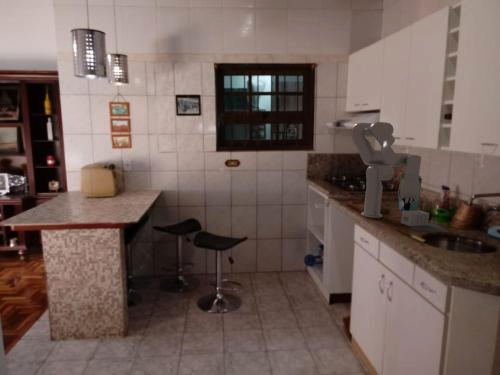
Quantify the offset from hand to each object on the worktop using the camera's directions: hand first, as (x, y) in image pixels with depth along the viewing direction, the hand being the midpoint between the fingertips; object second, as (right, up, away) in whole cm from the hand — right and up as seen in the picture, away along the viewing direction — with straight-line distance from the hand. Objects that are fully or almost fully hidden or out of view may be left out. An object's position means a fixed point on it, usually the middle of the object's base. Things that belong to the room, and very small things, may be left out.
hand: (406, 210), depth 201 cm
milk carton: (+21, -3, +46) cm, 51 cm away
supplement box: (0, -5, +2) cm, 5 cm away
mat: (+11, -10, +1) cm, 14 cm away
